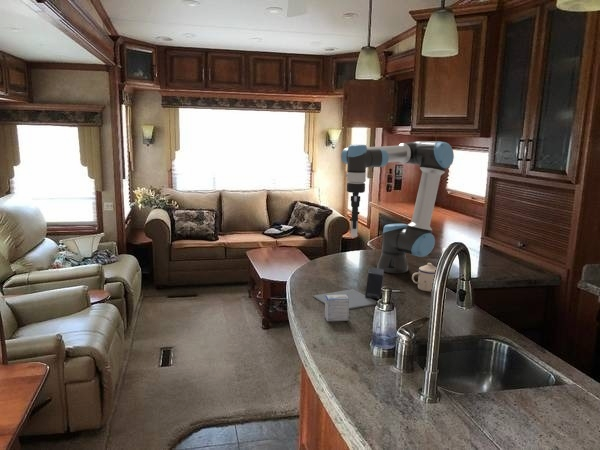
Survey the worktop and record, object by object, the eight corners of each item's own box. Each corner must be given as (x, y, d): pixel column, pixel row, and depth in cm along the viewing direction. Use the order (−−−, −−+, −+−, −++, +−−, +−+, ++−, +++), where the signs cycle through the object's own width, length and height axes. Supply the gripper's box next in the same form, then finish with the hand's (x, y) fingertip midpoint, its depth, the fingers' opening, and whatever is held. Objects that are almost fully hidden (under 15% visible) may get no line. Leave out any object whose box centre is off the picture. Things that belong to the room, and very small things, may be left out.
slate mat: (353, 290, 205) (353, 289, 205) (378, 304, 190) (379, 302, 189) (313, 296, 196) (313, 295, 196) (336, 311, 180) (336, 310, 180)
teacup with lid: (434, 285, 215) (436, 260, 213) (441, 292, 206) (443, 266, 204) (408, 285, 214) (410, 260, 212) (414, 292, 205) (416, 266, 203)
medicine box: (345, 316, 176) (346, 294, 174) (348, 321, 172) (349, 298, 170) (324, 317, 175) (325, 294, 173) (327, 322, 170) (328, 299, 169)
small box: (380, 299, 193) (383, 274, 192) (364, 297, 195) (367, 272, 193) (381, 292, 204) (384, 268, 202) (366, 290, 205) (368, 266, 203)
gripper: (347, 179, 209) (346, 226, 213) (346, 185, 184) (344, 239, 189) (364, 179, 208) (362, 227, 212) (365, 186, 184) (363, 239, 188)
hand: (354, 232), depth 200 cm, fingers open, 13 cm apart
